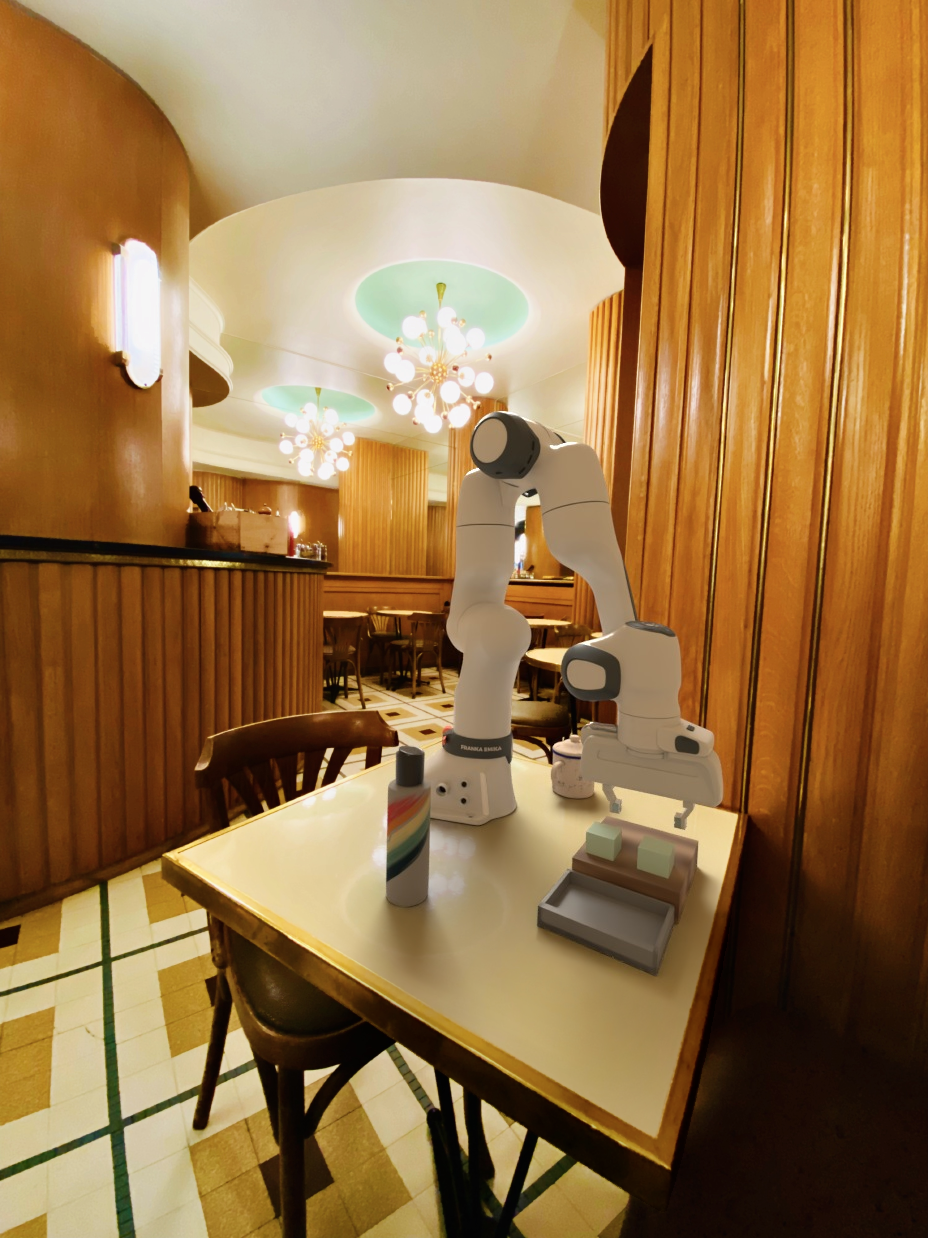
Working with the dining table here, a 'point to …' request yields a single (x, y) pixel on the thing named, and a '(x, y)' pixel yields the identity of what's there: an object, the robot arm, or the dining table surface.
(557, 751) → the teacup with lid
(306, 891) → the dining table surface
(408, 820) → the lotion bottle
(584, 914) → the charcoal tray
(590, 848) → the mint block
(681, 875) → the walnut bench
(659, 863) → the mint block
